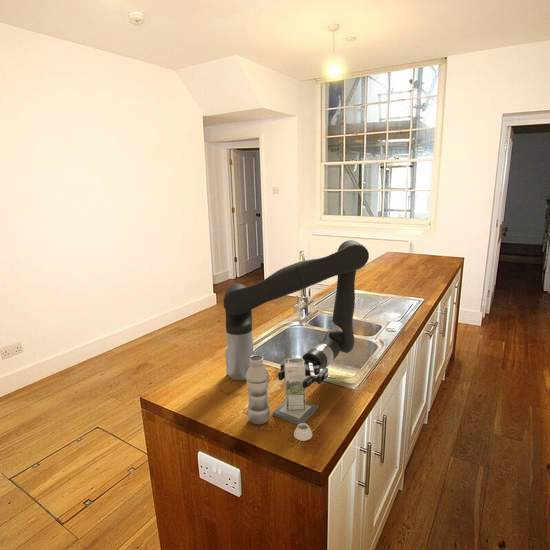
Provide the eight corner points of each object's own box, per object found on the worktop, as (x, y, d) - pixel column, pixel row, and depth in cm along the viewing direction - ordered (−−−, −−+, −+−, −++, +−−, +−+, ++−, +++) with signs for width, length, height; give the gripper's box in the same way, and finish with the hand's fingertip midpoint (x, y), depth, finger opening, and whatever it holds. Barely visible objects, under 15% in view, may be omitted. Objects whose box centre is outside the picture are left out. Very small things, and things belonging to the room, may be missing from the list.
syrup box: (303, 399, 118) (303, 356, 114) (305, 410, 112) (305, 365, 108) (285, 400, 118) (283, 357, 114) (286, 411, 112) (285, 366, 108)
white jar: (290, 436, 104) (305, 444, 101) (290, 427, 104) (304, 434, 100) (301, 427, 108) (315, 435, 105) (301, 418, 107) (315, 425, 104)
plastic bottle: (252, 412, 116) (249, 351, 111) (273, 415, 114) (271, 354, 109) (244, 425, 110) (240, 361, 105) (266, 429, 108) (264, 364, 103)
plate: (272, 415, 114) (272, 411, 114) (290, 399, 122) (290, 396, 122) (301, 426, 108) (301, 422, 108) (318, 408, 116) (318, 405, 116)
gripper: (298, 343, 127) (270, 363, 114) (338, 353, 119) (313, 376, 106) (299, 364, 129) (271, 386, 116) (337, 374, 121) (313, 399, 108)
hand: (291, 381), depth 111 cm, fingers closed on syrup box, 8 cm apart
